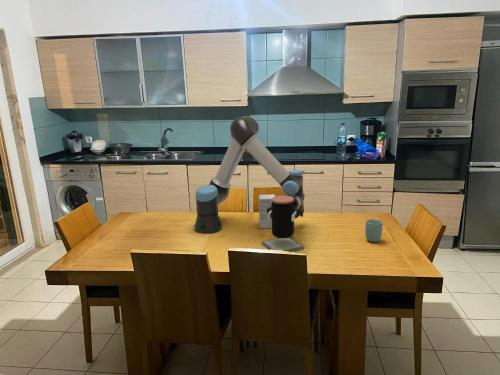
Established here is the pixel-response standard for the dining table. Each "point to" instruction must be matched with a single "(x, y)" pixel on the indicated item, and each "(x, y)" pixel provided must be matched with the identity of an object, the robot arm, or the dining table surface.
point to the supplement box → (264, 211)
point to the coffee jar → (282, 216)
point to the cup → (373, 230)
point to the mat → (282, 244)
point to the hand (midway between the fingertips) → (280, 217)
